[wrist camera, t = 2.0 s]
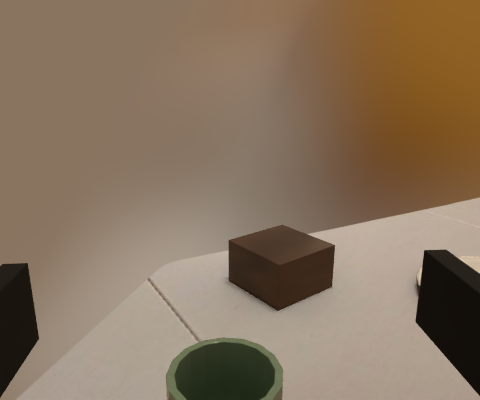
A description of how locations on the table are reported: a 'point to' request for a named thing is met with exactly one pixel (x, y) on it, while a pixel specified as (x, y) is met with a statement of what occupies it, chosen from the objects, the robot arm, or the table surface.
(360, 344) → the table surface
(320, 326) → the table surface
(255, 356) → the cup
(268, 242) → the block
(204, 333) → the table surface
